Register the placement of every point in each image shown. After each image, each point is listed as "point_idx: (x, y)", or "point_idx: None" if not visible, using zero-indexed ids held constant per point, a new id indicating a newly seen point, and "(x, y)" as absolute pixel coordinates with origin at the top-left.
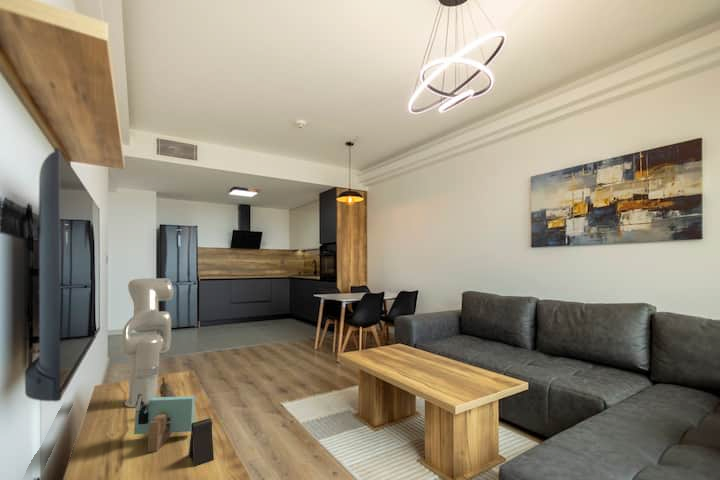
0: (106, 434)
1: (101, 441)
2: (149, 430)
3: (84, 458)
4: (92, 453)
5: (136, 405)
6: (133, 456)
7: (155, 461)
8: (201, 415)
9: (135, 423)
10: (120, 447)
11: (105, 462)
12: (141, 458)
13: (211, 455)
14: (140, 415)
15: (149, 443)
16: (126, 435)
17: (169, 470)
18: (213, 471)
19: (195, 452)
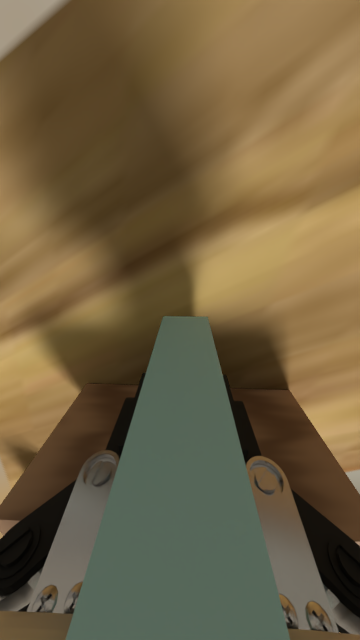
0: (312, 55)
1: (203, 93)
2: (31, 465)
3: (9, 123)
4: (61, 138)
5: (92, 557)
6: (58, 350)
7: (40, 417)
8: (346, 454)
9: (153, 351)
10: (122, 267)
11: (3, 269)
12: (49, 378)
13: None
14: (109, 446)
15: (71, 410)
16: (249, 230)
17: (9, 452)
18: None
19: None
